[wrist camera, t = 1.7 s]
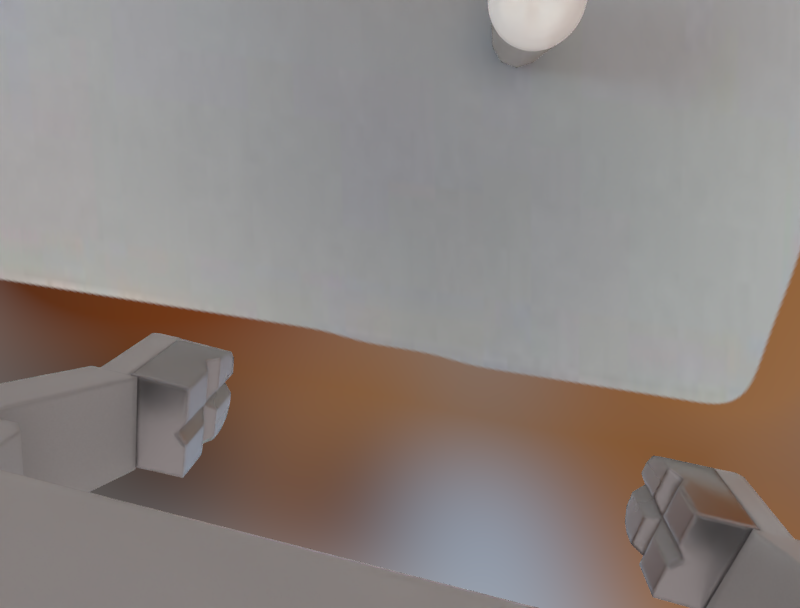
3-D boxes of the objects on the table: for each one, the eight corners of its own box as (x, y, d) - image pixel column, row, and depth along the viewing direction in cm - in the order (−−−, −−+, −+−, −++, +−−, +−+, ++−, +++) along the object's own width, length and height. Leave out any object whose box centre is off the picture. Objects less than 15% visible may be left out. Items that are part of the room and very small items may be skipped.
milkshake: (487, -19, 30) (498, -104, 21) (569, 14, 30) (619, -58, 21) (458, 59, 32) (456, 12, 22) (537, 89, 32) (569, 56, 22)
